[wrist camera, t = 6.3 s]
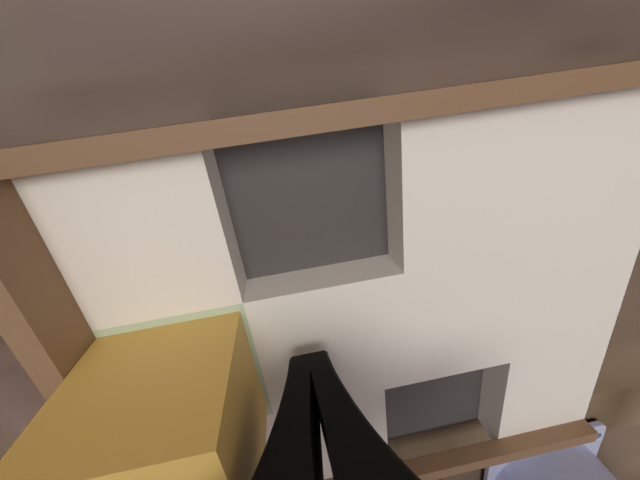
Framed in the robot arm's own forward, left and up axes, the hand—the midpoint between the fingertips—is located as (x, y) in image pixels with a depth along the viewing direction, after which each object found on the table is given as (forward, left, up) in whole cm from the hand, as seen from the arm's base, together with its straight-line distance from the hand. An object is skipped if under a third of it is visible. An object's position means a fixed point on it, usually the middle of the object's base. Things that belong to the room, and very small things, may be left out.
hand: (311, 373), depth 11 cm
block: (0, +5, -1) cm, 5 cm away
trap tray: (0, -3, -3) cm, 4 cm away
